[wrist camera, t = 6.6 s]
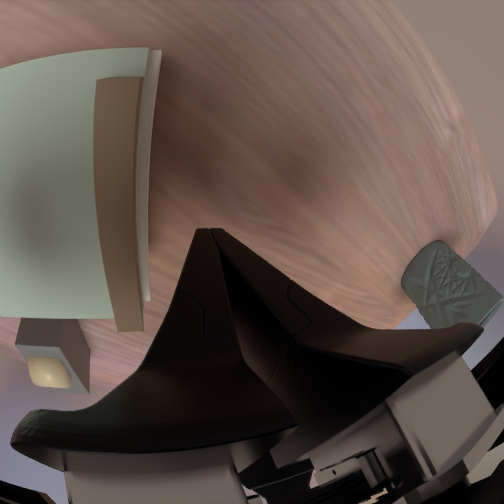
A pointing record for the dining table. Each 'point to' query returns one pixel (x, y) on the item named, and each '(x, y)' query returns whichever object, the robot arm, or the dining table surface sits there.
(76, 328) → the tape dispenser
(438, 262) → the grey-green cup
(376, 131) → the dining table surface
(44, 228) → the lid
